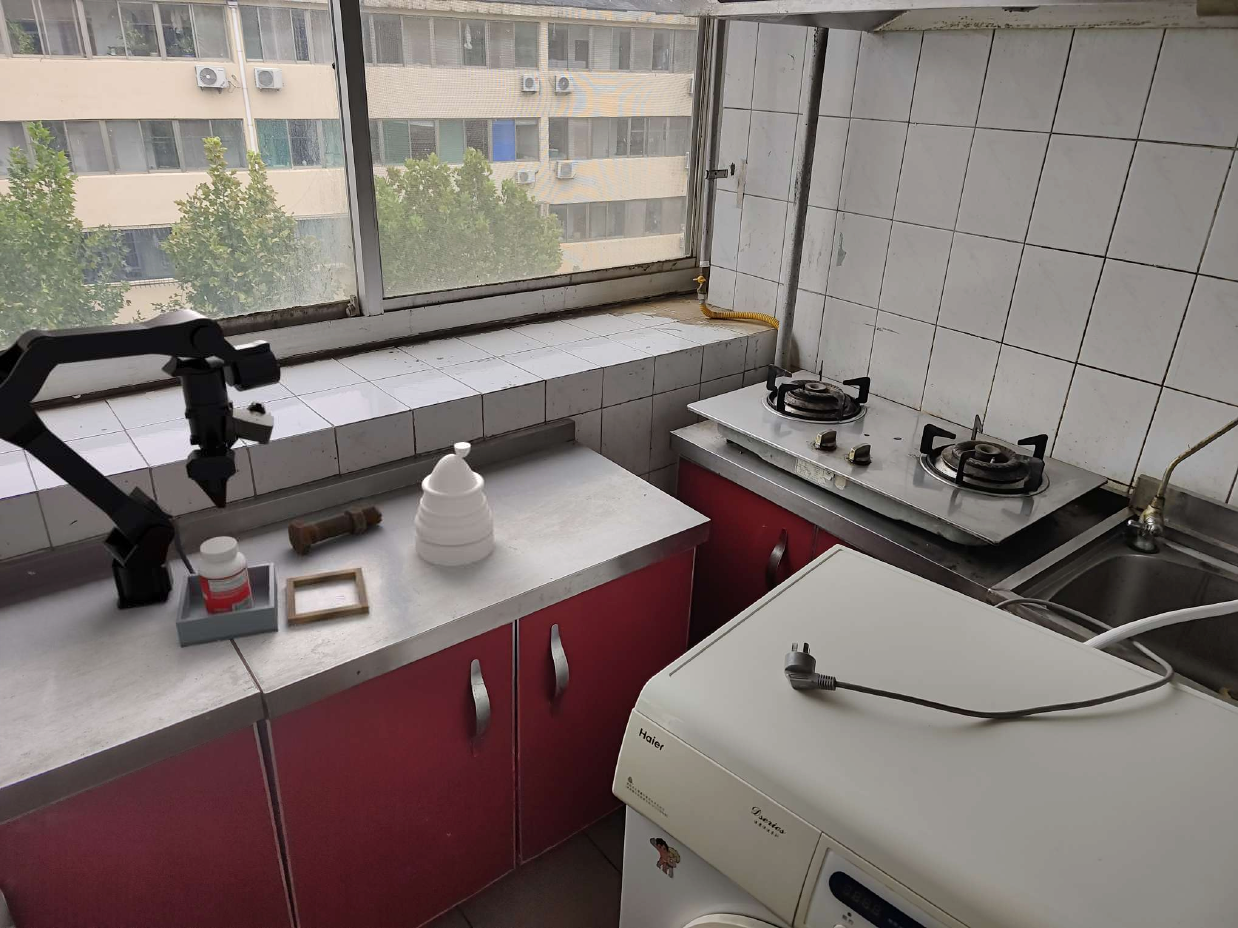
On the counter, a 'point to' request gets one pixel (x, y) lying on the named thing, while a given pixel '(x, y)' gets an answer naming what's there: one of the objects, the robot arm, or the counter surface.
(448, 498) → the honey pot
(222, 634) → the bin
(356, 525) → the bolt
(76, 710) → the counter surface
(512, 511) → the counter surface
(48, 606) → the counter surface
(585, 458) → the counter surface
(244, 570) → the pill bottle
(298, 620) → the wooden frame
